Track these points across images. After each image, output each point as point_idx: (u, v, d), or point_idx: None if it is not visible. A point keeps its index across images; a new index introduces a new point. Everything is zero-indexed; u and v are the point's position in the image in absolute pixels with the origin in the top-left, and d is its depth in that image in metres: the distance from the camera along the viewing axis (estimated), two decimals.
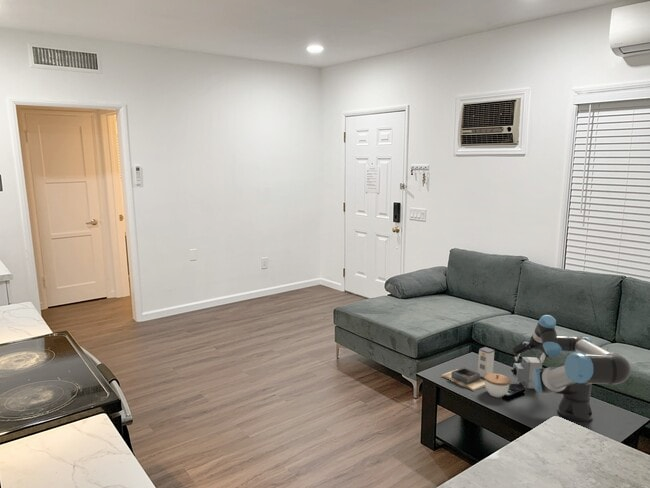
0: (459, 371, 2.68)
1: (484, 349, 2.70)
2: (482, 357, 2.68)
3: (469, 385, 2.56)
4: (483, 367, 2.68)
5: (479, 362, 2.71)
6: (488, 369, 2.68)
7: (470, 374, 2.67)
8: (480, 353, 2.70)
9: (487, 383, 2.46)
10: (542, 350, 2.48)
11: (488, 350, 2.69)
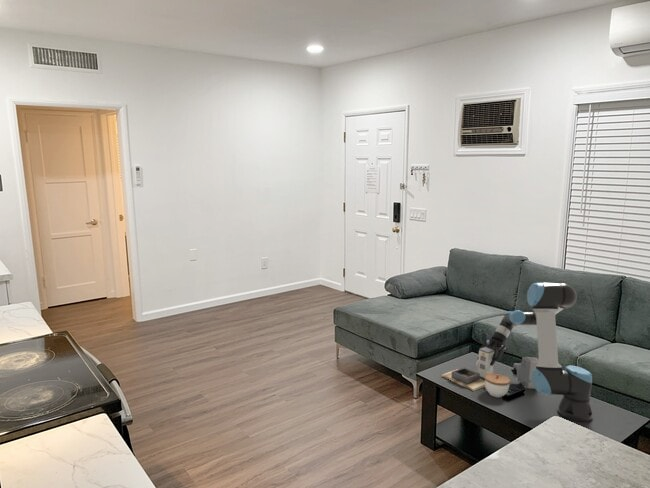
0: (459, 371, 2.68)
1: (484, 349, 2.70)
2: (482, 357, 2.68)
3: (469, 385, 2.56)
4: (483, 367, 2.68)
5: (479, 362, 2.71)
6: None
7: (470, 374, 2.67)
8: (480, 353, 2.70)
9: (487, 383, 2.46)
10: (495, 349, 2.70)
11: (488, 350, 2.69)
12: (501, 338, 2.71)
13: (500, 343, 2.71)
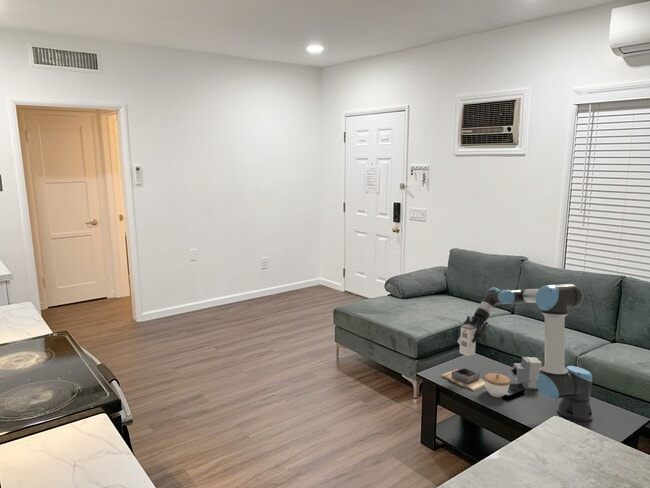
0: (459, 371, 2.68)
1: (466, 326, 2.60)
2: (464, 334, 2.59)
3: (469, 385, 2.56)
4: (465, 344, 2.59)
5: (461, 339, 2.62)
6: None
7: (470, 374, 2.67)
8: (462, 330, 2.60)
9: (487, 383, 2.46)
10: (477, 326, 2.61)
11: (470, 326, 2.59)
12: (484, 314, 2.62)
13: (483, 320, 2.62)
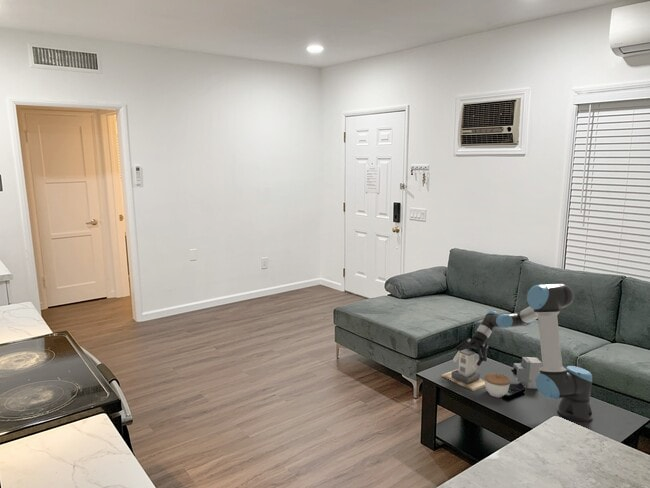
0: None
1: (464, 351, 2.62)
2: (462, 359, 2.61)
3: (469, 385, 2.56)
4: (463, 370, 2.61)
5: (459, 364, 2.64)
6: (468, 372, 2.61)
7: None
8: (460, 355, 2.63)
9: (487, 383, 2.46)
10: (478, 349, 2.62)
11: (468, 352, 2.61)
12: (482, 338, 2.64)
13: (481, 343, 2.64)
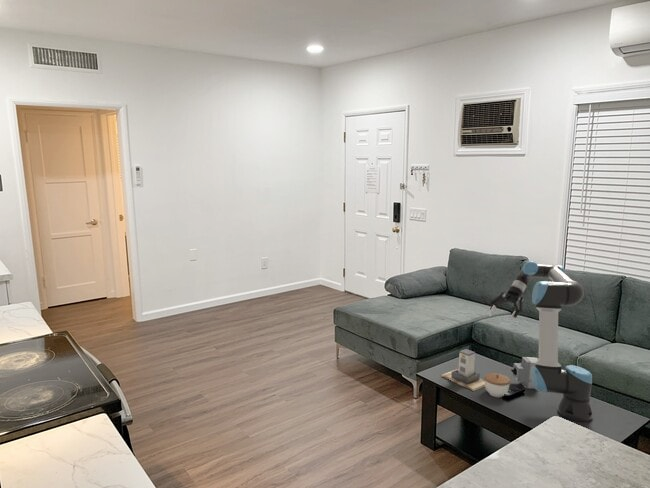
0: None
1: (464, 351, 2.62)
2: (462, 359, 2.61)
3: (469, 385, 2.56)
4: (463, 370, 2.61)
5: (459, 364, 2.64)
6: (468, 372, 2.61)
7: None
8: (460, 355, 2.63)
9: (487, 383, 2.46)
10: (514, 303, 2.70)
11: (468, 352, 2.61)
12: (517, 292, 2.73)
13: (516, 297, 2.72)
